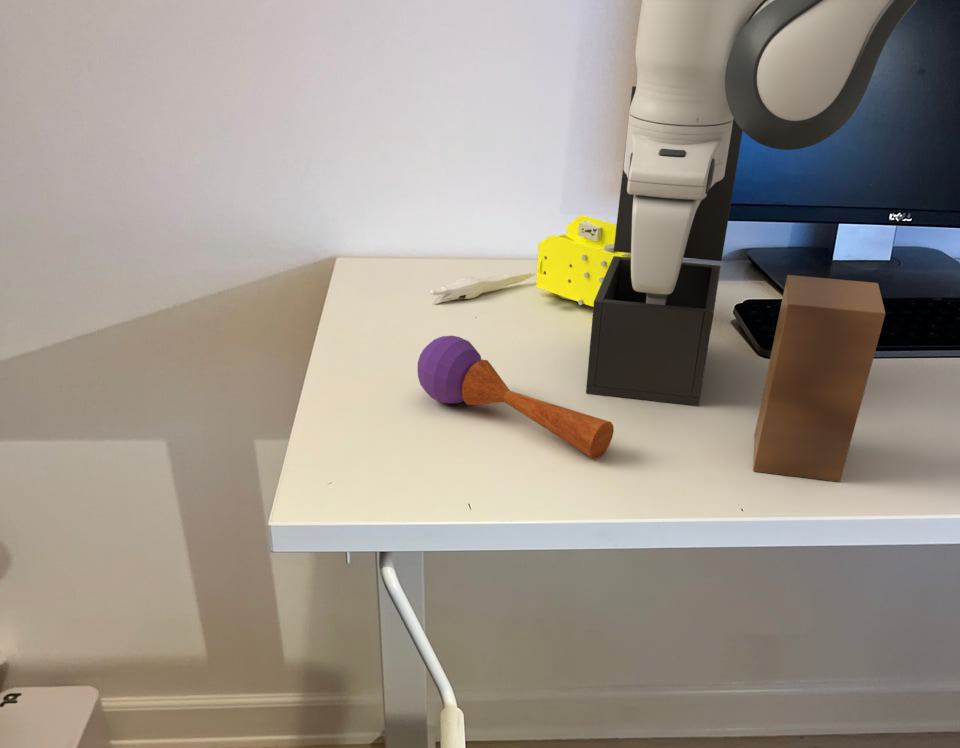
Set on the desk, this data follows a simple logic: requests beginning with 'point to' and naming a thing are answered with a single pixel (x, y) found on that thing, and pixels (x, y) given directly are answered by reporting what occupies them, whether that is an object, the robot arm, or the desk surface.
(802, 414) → the stand
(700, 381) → the dark open-top box
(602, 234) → the yellow toy chassis
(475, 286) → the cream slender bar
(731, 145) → the dark box lid
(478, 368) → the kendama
